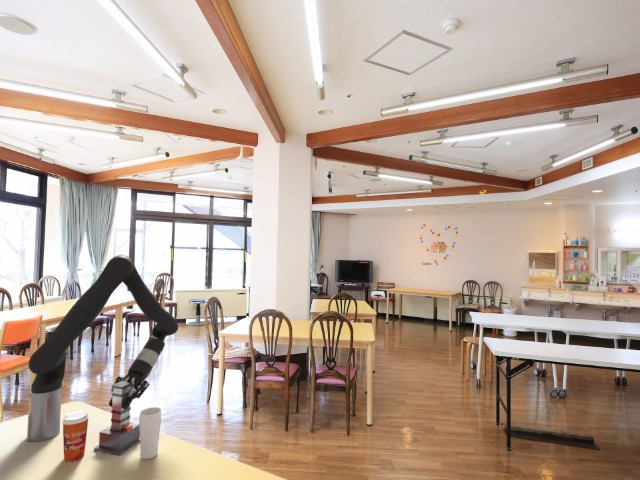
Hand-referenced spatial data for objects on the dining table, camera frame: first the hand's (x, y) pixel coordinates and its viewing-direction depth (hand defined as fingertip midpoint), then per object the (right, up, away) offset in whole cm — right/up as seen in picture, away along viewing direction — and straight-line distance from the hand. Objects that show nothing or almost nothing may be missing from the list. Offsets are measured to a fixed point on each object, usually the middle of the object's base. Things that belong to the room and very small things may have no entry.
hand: (117, 407), depth 124 cm
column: (0, -9, +1) cm, 9 cm away
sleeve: (0, -14, +1) cm, 14 cm away
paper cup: (-11, -14, -7) cm, 19 cm away
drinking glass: (+14, -14, -5) cm, 21 cm away
